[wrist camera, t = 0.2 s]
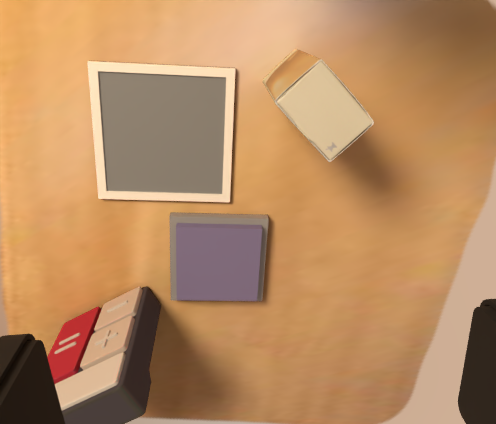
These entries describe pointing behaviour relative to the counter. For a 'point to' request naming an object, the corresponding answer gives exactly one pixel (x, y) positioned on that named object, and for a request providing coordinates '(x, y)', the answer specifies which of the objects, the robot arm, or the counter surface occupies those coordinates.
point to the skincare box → (317, 103)
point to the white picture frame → (162, 131)
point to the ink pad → (217, 256)
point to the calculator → (106, 360)
